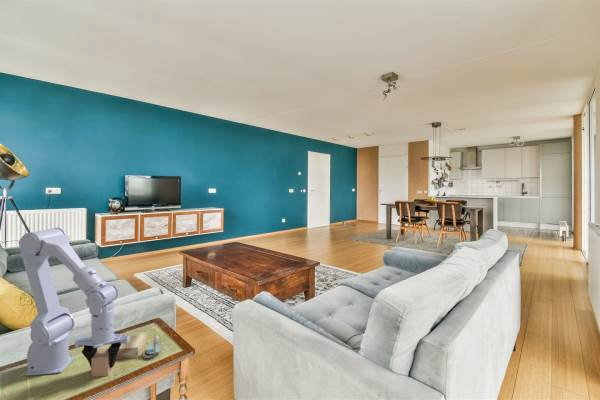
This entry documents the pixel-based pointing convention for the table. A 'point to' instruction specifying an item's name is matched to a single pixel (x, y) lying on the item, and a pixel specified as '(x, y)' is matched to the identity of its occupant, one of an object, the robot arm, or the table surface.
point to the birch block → (131, 347)
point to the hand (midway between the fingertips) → (103, 366)
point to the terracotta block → (101, 363)
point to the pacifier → (153, 348)
